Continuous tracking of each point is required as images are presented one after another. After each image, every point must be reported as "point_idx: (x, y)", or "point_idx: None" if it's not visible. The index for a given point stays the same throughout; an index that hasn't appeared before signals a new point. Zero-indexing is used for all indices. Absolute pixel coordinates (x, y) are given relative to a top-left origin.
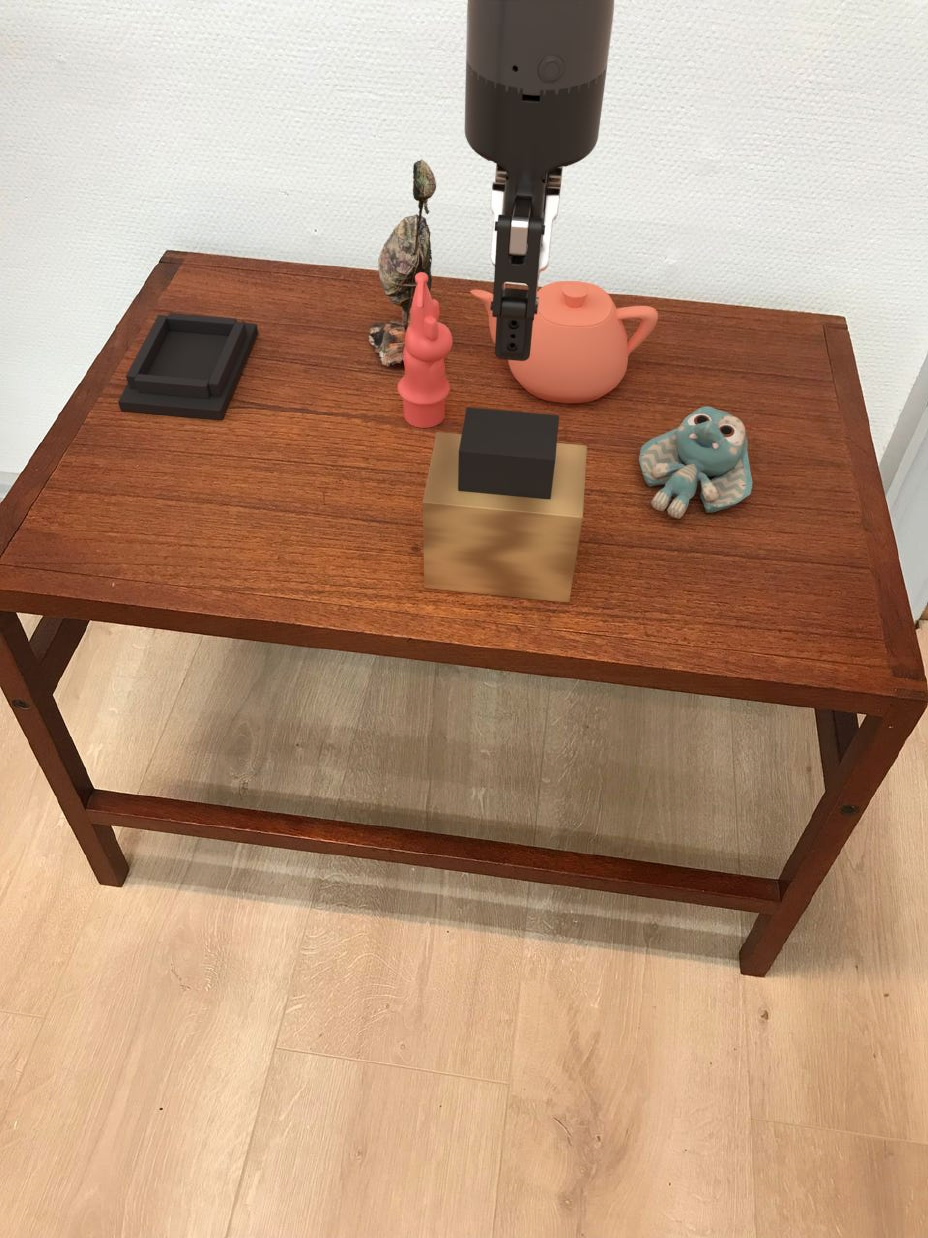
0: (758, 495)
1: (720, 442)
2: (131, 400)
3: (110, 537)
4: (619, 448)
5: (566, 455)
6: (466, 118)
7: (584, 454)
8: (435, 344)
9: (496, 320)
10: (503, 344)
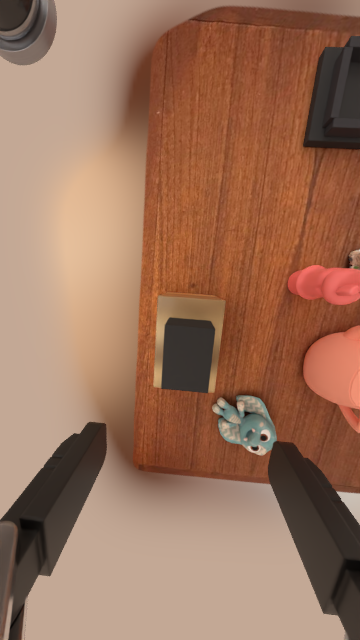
0: None
1: (246, 443)
2: (325, 59)
3: (194, 96)
4: (266, 384)
5: None
6: None
7: None
8: (332, 293)
9: (46, 480)
10: (52, 457)
